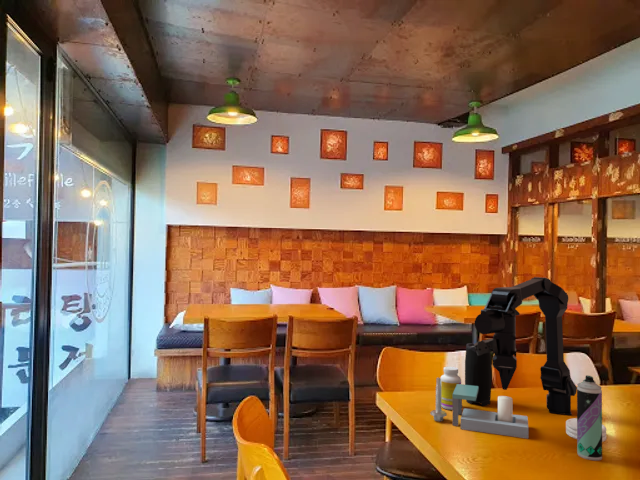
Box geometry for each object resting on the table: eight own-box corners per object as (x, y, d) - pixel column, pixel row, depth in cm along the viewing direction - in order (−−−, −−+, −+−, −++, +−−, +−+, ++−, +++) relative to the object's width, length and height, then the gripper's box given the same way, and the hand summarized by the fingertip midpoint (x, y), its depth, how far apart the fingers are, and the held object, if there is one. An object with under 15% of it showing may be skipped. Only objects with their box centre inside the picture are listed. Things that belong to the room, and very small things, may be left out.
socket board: (527, 426, 140) (527, 416, 140) (528, 438, 131) (528, 427, 131) (463, 418, 147) (463, 408, 147) (460, 429, 138) (460, 418, 138)
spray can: (572, 451, 123) (572, 373, 123) (592, 451, 123) (592, 373, 124) (586, 460, 117) (585, 379, 118) (607, 460, 118) (606, 378, 118)
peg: (512, 427, 139) (512, 396, 139) (512, 432, 135) (512, 400, 136) (498, 425, 140) (497, 395, 141) (497, 430, 137) (497, 399, 137)
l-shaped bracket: (478, 415, 149) (478, 386, 149) (475, 428, 138) (475, 396, 138) (457, 412, 152) (457, 383, 152) (452, 425, 141) (452, 394, 141)
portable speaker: (490, 399, 166) (490, 343, 166) (492, 408, 157) (492, 348, 157) (464, 397, 168) (464, 341, 169) (464, 405, 159) (465, 346, 160)
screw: (432, 416, 148) (447, 418, 146) (428, 421, 144) (445, 423, 142) (432, 374, 149) (448, 376, 147) (428, 378, 144) (445, 380, 142)
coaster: (602, 432, 137) (601, 420, 137) (610, 445, 127) (610, 432, 127) (563, 427, 140) (563, 415, 140) (568, 440, 131) (568, 427, 131)
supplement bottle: (462, 411, 153) (462, 371, 154) (441, 409, 155) (441, 370, 155) (460, 404, 160) (460, 366, 160) (440, 403, 161) (440, 365, 161)
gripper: (478, 325, 150) (477, 375, 150) (473, 334, 133) (473, 390, 132) (516, 327, 146) (516, 379, 146) (516, 337, 129) (516, 395, 128)
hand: (504, 385), depth 138 cm, fingers open, 9 cm apart
